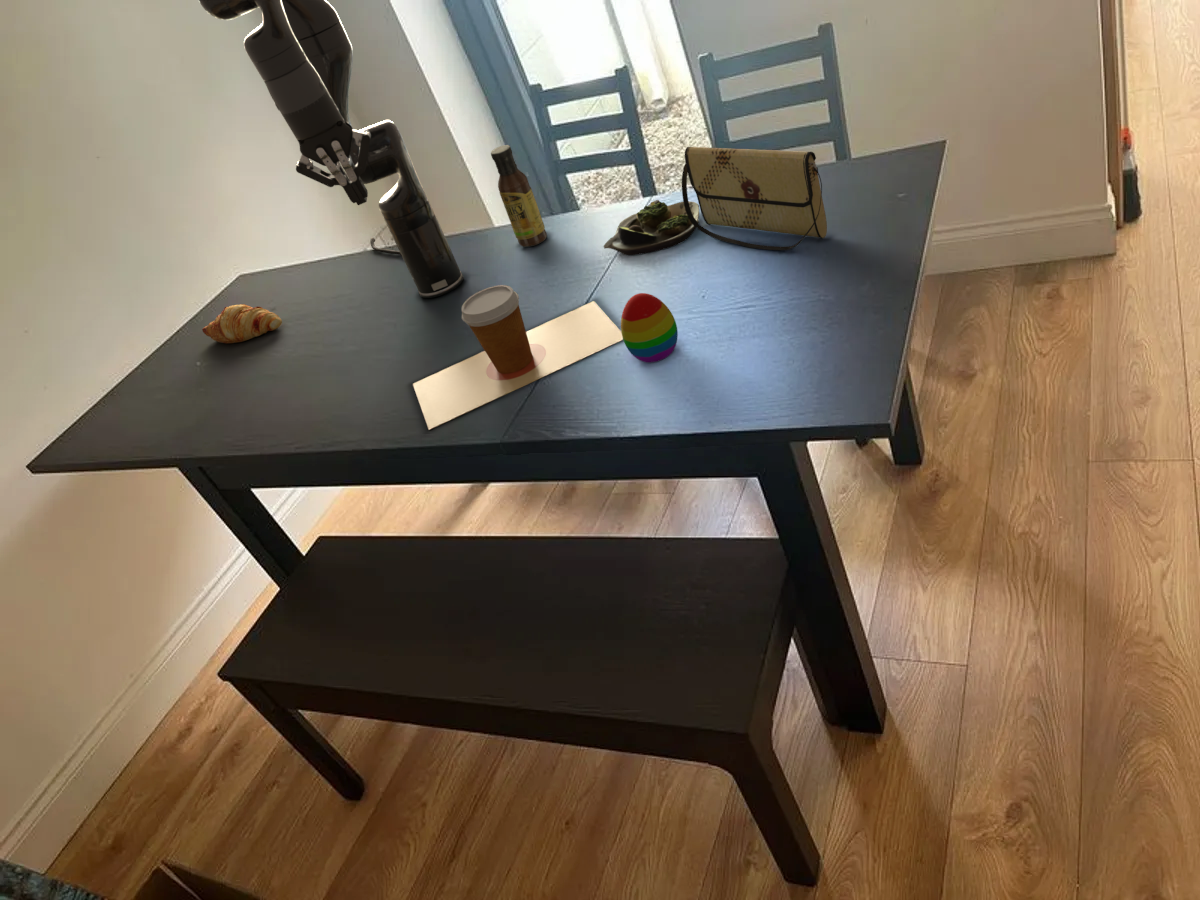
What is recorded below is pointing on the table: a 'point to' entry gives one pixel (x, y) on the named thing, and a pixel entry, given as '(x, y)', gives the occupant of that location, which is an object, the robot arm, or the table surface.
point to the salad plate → (654, 228)
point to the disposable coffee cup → (499, 327)
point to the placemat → (550, 351)
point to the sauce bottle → (518, 199)
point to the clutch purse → (756, 192)
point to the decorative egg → (648, 328)
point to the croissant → (241, 324)
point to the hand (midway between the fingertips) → (362, 201)
